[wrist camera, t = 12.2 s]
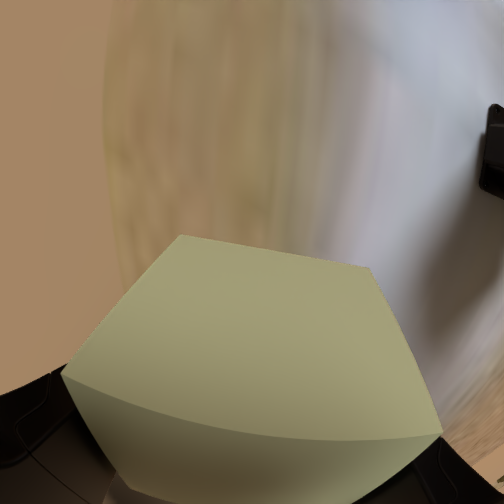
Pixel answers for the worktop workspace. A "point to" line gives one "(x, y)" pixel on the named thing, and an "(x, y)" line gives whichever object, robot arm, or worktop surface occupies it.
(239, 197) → the worktop surface
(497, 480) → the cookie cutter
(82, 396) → the sage cube
